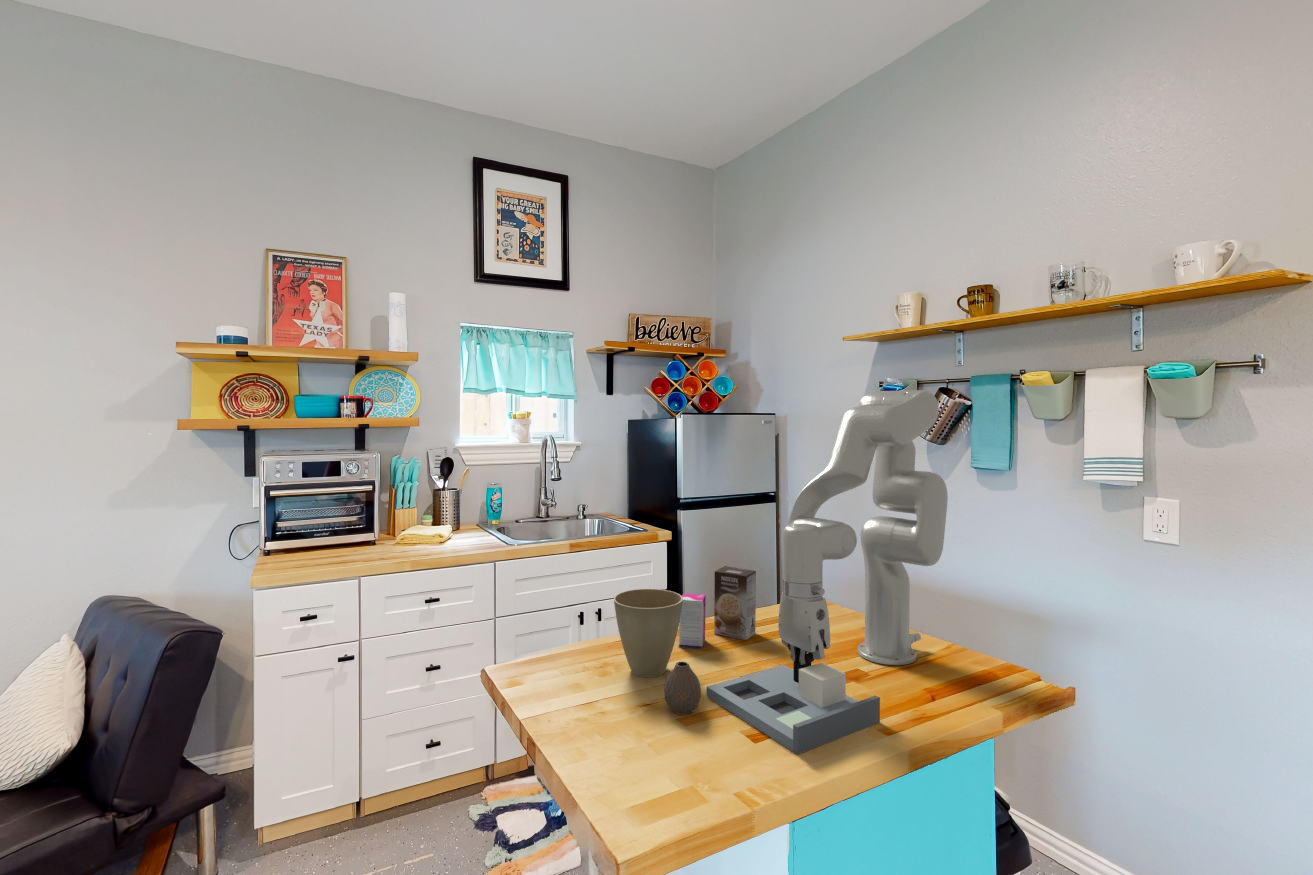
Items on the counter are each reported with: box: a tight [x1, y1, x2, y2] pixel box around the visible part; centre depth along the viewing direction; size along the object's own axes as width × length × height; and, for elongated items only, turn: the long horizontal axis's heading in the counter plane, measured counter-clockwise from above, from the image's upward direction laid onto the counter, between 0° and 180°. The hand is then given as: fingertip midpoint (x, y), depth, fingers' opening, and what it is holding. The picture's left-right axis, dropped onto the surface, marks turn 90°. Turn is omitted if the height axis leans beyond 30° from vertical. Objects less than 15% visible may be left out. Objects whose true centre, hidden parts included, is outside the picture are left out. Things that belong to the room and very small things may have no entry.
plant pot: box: [613, 588, 683, 678], centre depth 137 cm, size 15×15×16 cm
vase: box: [663, 661, 702, 716], centre depth 118 cm, size 7×7×9 cm
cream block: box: [799, 662, 847, 708], centre depth 118 cm, size 6×6×5 cm
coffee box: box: [713, 565, 757, 641], centre depth 159 cm, size 9×6×16 cm
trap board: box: [706, 664, 881, 755], centre depth 118 cm, size 20×25×4 cm
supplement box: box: [678, 593, 707, 649], centre depth 152 cm, size 6×6×12 cm
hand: (802, 681), depth 124 cm, fingers closed
